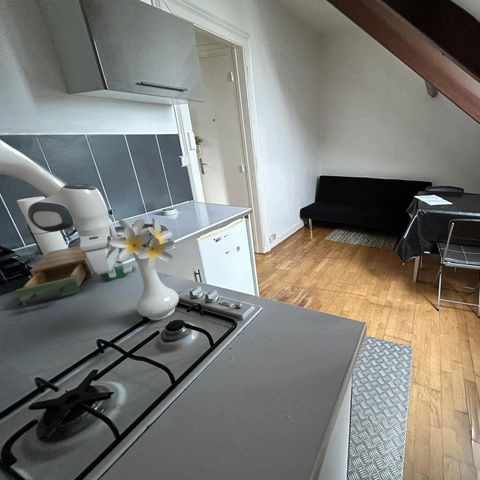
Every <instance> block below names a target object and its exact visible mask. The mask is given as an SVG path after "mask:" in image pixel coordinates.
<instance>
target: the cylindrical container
mask: <svg viewBox="0 0 480 480" xmlns="http://www.w3.org/2000/svg"><path fill="white" fill-rule="evenodd" d="M45 198H46V197H45V196H33V197H32V198H26V199H22V198H21V199H17V200H16V202H17V204H18V206H19V209H20V210H21V212H22V214H23V216H24V219H25V221H26V223H27V226H28V225H29V227H30V229H31V231H32V233H33V235H34V237H35V239H36V241H37V243H38V245H39V247H40V249H41V251H42V253H43V254H42V255H43V258H44V257H45V256H46V255H47V254H48V253H49V252H51V251H56V250H61V249H67V248H69V247H68V245H67V243H66V241H65V239H64V237H63V234H62V232H61V231H56V232H47V231H44V230H41V229H39V228H37V227H36V226H35V225H34V224H33V223H32V222H31V221H30V219H29V217H28V209H29V207H30V206H31V205H32V204H33V203H36V202H38V201H40V200H43V199H45Z"/></svg>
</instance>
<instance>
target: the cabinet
mask: <svg viewBox="0 0 480 480" xmlns="http://www.w3.org/2000/svg"><path fill="white" fill-rule="evenodd" d="M85 252H86V251H85ZM85 252H82V251H81V249H80V245H79V246H73V247H68V248H67V249H61V250H56V251H51V252H49V253H48V254H47V255H46V256H45V257H44V256H43V257H42V258H41V259H40V260H39V261H38V262H37V263H36V264H35V265H34V266H33V267H32V268H31V269H30V270H29V271H30V274H31V276H32V277H33V276H34V275H35V274H36V273H37V272H38V271H42V270H47V269H52V268H57V267H62V266H66V265H71V264H76V263H81V262H83V263H84V265H85V267H86V270H87V272H88V273H87V274H86V276H85V278H84V279H88V278H92V277H93V276H94V275H95V274H96V273H95V272H94V270H93V268H92V267H91V265H90V263H89V261H88V259H87V257H86V253H85Z"/></svg>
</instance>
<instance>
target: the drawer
mask: <svg viewBox="0 0 480 480" xmlns="http://www.w3.org/2000/svg"><path fill="white" fill-rule="evenodd" d="M87 273H88V272H87V270H86V267H85V265H84V263H83V262H81V263H76V264H71V265H66V266H62V267H57V268H52V269H47V270H42V271H38V272H37V273H36V274H35V275H34V276H32V277H31V278H30V279H29V280H28V281H27V282H26V283H25V284H24V286H23V287H21V288H18V289H16V290H15V293H16V295H17V296H18V298H19V300H20V302H21V304H22V306H29V305H33V304H37V303H41V302H46V301H49V300H53V299H58V298H62V297H64V296H69V295H73V294H76V293H81V287H80V286H81V285H82V283H83V281H84V279H86V278H85V276H86V274H87Z"/></svg>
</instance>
